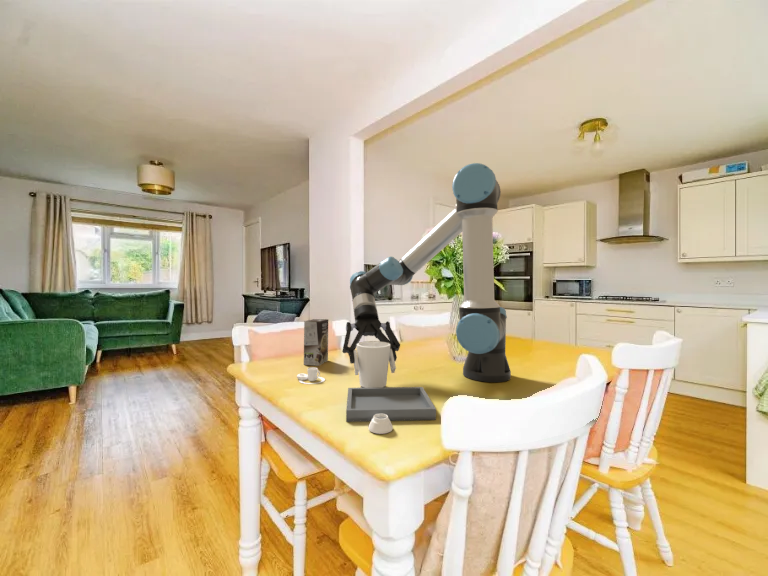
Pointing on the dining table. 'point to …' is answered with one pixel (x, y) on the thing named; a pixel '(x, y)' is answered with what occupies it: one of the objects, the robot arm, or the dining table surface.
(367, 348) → the cup
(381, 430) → the lidless jar
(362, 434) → the dining table surface
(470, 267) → the robot arm
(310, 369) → the teacup and saucer
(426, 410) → the tray
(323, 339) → the coffee box
